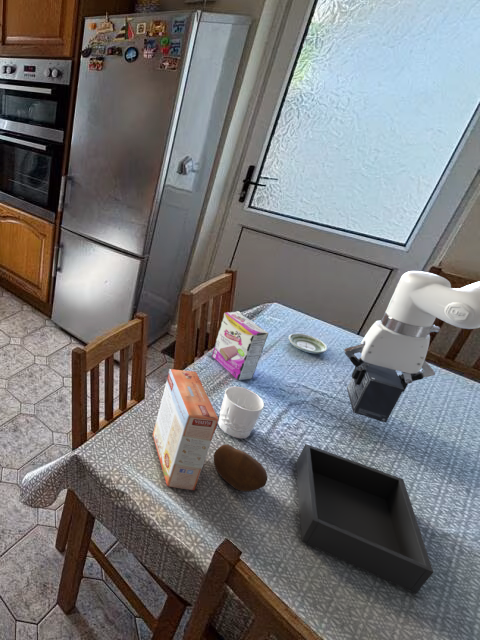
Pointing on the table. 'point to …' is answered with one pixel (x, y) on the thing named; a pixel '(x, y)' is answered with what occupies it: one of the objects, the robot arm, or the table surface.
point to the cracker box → (184, 429)
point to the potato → (239, 469)
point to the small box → (375, 393)
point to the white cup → (239, 411)
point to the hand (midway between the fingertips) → (375, 386)
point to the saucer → (307, 343)
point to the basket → (360, 517)
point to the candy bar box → (239, 345)
